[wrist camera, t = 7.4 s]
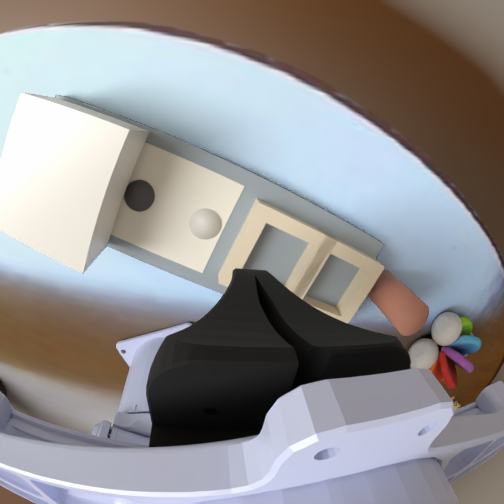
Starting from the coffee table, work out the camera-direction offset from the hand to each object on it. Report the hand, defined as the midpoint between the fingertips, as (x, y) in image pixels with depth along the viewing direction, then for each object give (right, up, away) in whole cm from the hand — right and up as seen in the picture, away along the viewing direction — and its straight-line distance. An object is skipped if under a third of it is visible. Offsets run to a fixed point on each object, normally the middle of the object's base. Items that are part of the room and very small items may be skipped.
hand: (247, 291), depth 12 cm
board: (-4, +4, +9) cm, 11 cm away
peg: (+12, -1, +13) cm, 18 cm away
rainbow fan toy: (+23, -9, +18) cm, 30 cm away
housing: (-12, +7, +5) cm, 15 cm away
